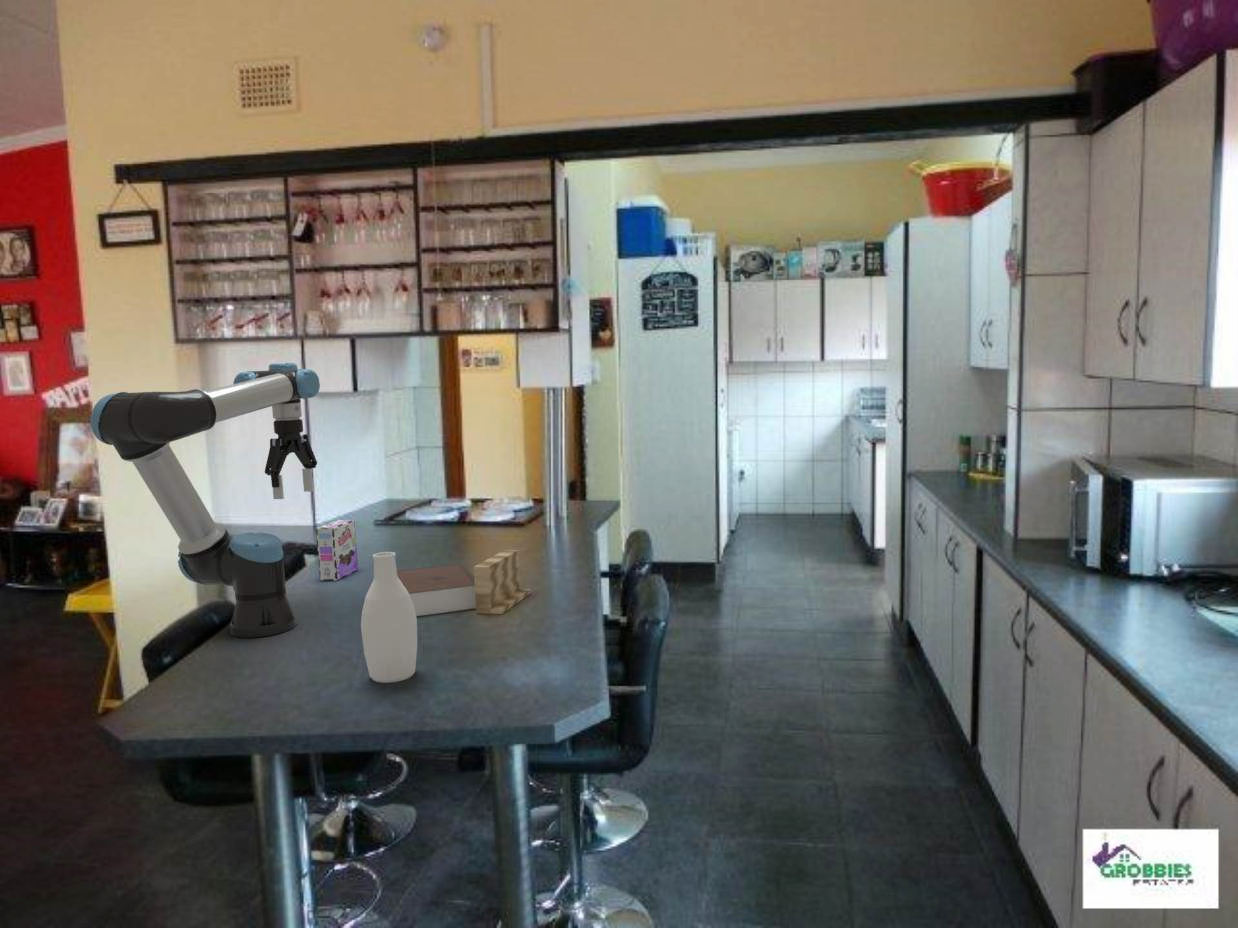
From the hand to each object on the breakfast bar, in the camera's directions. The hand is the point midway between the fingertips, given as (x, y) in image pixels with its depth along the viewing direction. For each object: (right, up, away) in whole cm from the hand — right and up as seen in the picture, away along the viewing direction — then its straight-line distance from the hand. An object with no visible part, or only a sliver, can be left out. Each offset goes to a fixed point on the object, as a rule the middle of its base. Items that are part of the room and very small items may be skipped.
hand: (294, 495), depth 249 cm
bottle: (+44, -35, -66) cm, 86 cm away
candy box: (+5, -26, +26) cm, 37 cm away
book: (+39, -29, -8) cm, 49 cm away
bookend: (+60, -28, -13) cm, 68 cm away
